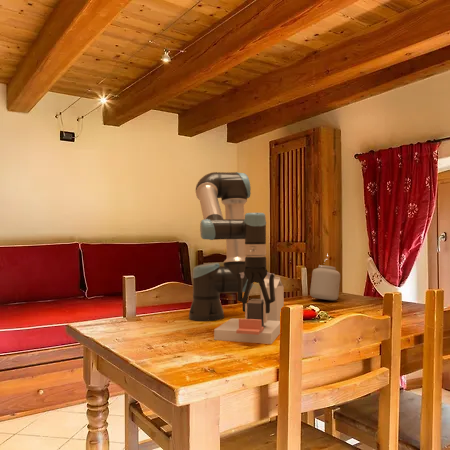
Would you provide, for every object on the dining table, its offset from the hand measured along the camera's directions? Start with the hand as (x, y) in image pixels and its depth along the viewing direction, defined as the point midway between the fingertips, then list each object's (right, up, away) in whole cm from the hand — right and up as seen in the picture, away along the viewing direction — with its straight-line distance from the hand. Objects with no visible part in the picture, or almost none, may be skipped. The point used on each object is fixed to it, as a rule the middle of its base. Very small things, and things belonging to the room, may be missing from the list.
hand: (256, 321), depth 151 cm
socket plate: (-2, -5, +3) cm, 6 cm away
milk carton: (+8, -6, +22) cm, 24 cm away
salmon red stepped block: (-3, -2, -8) cm, 9 cm away
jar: (+43, -6, +77) cm, 89 cm away
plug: (0, -5, 0) cm, 5 cm away
